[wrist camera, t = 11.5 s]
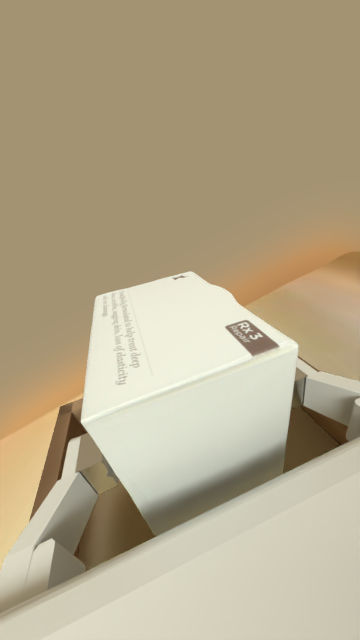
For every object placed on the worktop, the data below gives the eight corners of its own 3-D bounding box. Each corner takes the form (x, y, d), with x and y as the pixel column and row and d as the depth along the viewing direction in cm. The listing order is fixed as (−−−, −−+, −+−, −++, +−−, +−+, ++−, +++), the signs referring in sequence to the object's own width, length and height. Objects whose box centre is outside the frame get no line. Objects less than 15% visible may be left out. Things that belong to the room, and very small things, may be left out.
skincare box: (158, 451, 18) (87, 295, 11) (221, 424, 19) (191, 264, 12) (190, 602, 11) (51, 423, 4) (288, 545, 12) (306, 324, 5)
